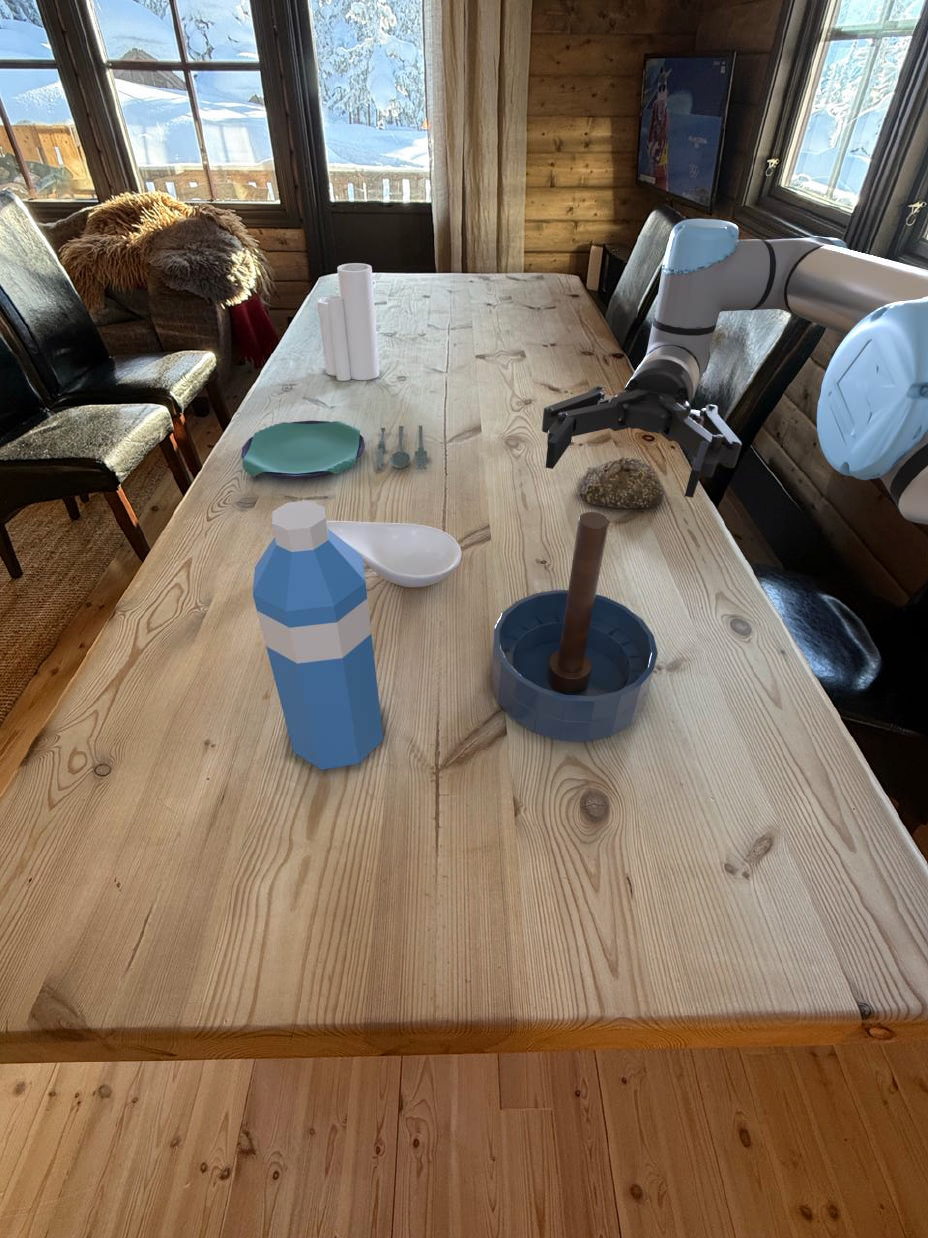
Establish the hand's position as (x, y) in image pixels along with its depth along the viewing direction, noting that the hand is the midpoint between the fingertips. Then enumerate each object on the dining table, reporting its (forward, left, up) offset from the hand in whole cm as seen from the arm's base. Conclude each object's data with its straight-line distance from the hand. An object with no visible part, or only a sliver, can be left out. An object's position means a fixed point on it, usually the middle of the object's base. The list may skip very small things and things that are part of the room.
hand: (618, 469), depth 62 cm
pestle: (-2, +8, -21) cm, 22 cm away
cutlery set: (+55, -11, -21) cm, 60 cm away
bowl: (-2, +8, -21) cm, 23 cm away
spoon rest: (+28, +8, -21) cm, 36 cm away
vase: (+80, -38, -21) cm, 91 cm away
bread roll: (+14, -32, -21) cm, 41 cm away
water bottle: (+12, +28, -21) cm, 37 cm away
